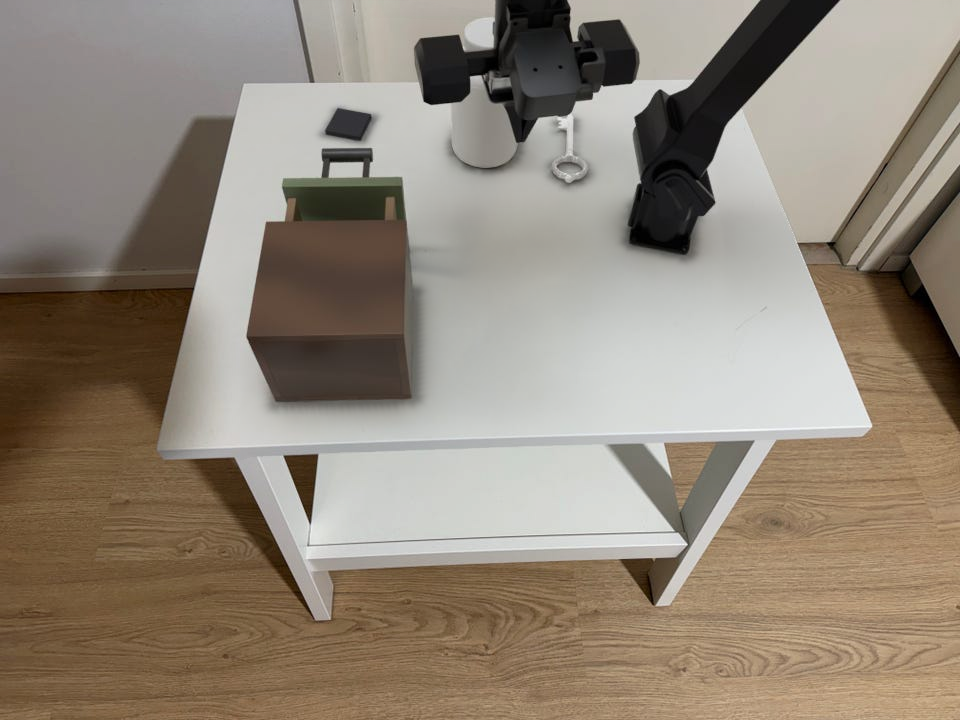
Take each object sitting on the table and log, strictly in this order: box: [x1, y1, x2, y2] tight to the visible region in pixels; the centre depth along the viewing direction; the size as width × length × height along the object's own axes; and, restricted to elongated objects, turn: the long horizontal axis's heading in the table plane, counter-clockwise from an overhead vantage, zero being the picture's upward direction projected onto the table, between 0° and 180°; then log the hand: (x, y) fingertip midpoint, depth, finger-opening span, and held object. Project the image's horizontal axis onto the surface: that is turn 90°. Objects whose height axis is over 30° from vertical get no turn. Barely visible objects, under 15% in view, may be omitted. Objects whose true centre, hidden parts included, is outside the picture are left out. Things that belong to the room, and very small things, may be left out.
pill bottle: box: [450, 17, 519, 169], centre depth 78 cm, size 8×8×15 cm
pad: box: [324, 107, 372, 141], centre depth 86 cm, size 4×4×1 cm
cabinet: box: [245, 219, 414, 403], centre depth 64 cm, size 13×13×11 cm
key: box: [551, 112, 589, 184], centre depth 84 cm, size 12×1×4 cm
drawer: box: [281, 147, 407, 221], centre depth 70 cm, size 17×11×9 cm
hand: (519, 140), depth 68 cm, fingers closed
